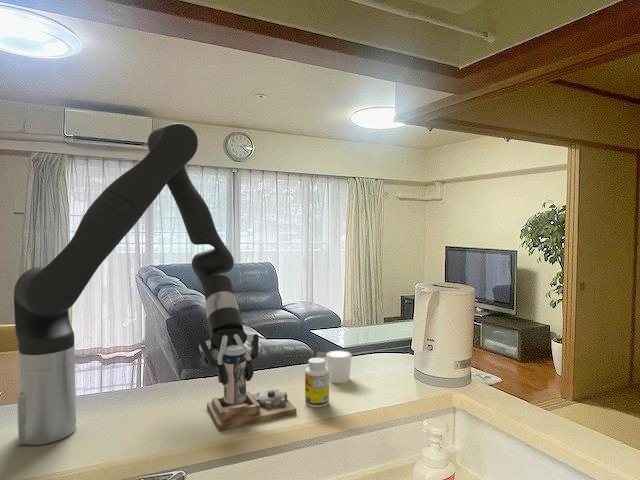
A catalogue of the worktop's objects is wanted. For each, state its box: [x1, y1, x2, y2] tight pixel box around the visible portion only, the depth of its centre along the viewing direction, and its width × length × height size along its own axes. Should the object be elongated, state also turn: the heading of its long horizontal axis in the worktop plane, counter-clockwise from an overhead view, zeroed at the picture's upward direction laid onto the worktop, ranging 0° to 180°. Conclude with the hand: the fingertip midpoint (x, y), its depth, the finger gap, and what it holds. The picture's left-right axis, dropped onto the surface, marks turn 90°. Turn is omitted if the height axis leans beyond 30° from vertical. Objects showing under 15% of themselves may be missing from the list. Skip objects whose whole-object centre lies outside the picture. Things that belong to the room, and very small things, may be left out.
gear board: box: [206, 389, 298, 432], centre depth 93 cm, size 17×12×3 cm
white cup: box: [325, 350, 353, 384], centre depth 112 cm, size 7×7×7 cm
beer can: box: [223, 345, 247, 405], centre depth 92 cm, size 5×5×12 cm
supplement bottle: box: [304, 357, 330, 408], centre depth 97 cm, size 6×6×10 cm
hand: (237, 381), depth 90 cm, fingers closed on beer can, 4 cm apart
